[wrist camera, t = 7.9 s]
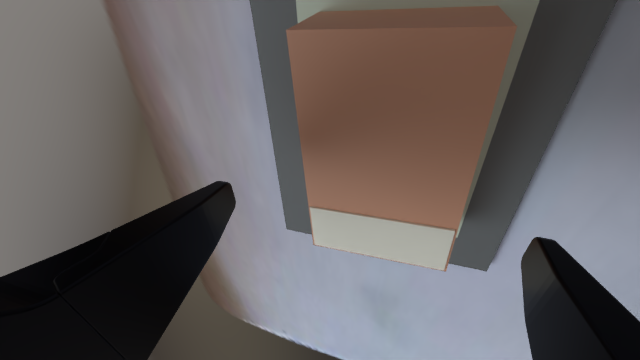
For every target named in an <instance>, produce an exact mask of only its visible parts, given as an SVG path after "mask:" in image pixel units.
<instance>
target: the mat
mask: <svg viewBox="0 0 640 360" xmlns="http://www.w3.org/2000/svg"><path fill="white" fill-rule="evenodd" d="M616 2H617V0H250V5H251V11H252V17H253V24H254V30H255V36H256V42H257V48H258V55H259V61H260V67H261V73H262V79H263V86H264V92H265V98H266V104H267V110H268V117H269V123H270V129H271V135H272V141H273V148H274V154H275V160H276V166H277V172H278V179H279V185H280V191H281V197H282V203H283V210H284V216H285V222H286V228H287V229H289V230H293V231H298V232H303V233H308V234H312V229H311V222H310V214H309V206H308V198H307V190H306V182H305V175H304V167H303V159H302V151H301V143H300V136H299V128H298V120H297V112H296V104H295V97H294V89H293V81H292V73H291V65H290V58H289V50H288V42H287V34H286V30H287V29H289V28H291V27H292V26H294V25H296V24H298V23H300V22H301V21H303V20H305V19H307V18H309V17H310V16H312V15H314V14H316V13H318V12H325V11H355V10H384V9H413V8H443V7H472V6H499V7H500V8H501V9H502V10H503V11H504V12H505V14H506V15H507V16H508V17H509V18H510V19H511V20H512V21H513V22H514V23H515V24H516V26H517V29H516V32H515V36H514V39H513V42H512V46H511V49H510V53H509V56H508V60H507V63H506V66H505V70H504V73H503V77H502V80H501V84H500V87H499V91H498V94H497V97H496V101H495V104H494V108H493V111H492V115H491V118H490V121H489V125H488V128H487V132H486V135H485V139H484V142H483V145H482V149H481V152H480V156H479V159H478V163H477V166H476V170H475V173H474V176H473V180H472V183H471V187H470V190H469V194H468V197H467V200H466V204H465V207H464V211H463V214H462V218H461V221H460V224H459V228H458V231H457V235H456V238H455V242H454V245H453V249H452V252H451V255H450V259H449V262H448V263H450V264H454V265H459V266H464V267H468V268H473V269H478V270H483V271H487V270H488V268H489V265H490V263H491V261H492V259H493V257H494V255H495V253H496V251H497V249H498V247H499V245H500V243H501V241H502V239H503V236H504V234H505V232H506V230H507V228H508V226H509V224H510V222H511V220H512V218H513V216H514V214H515V212H516V209H517V207H518V205H519V203H520V201H521V199H522V197H523V195H524V193H525V191H526V189H527V187H528V185H529V183H530V180H531V178H532V176H533V174H534V172H535V170H536V168H537V166H538V164H539V162H540V160H541V158H542V156H543V153H544V151H545V149H546V147H547V145H548V143H549V141H550V139H551V137H552V135H553V133H554V131H555V129H556V127H557V124H558V122H559V120H560V118H561V116H562V114H563V112H564V110H565V108H566V106H567V104H568V102H569V100H570V97H571V95H572V93H573V91H574V89H575V87H576V85H577V83H578V81H579V79H580V77H581V75H582V73H583V71H584V68H585V66H586V64H587V62H588V60H589V58H590V56H591V54H592V52H593V50H594V48H595V46H596V44H597V41H598V39H599V37H600V35H601V33H602V31H603V29H604V27H605V25H606V23H607V21H608V19H609V17H610V15H611V12H612V10H613V8H614V6H615V4H616Z"/></svg>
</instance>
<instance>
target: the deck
mask: <svg viewBox="0 0 640 360" xmlns="http://www.w3.org/2000/svg"><path fill="white" fill-rule="evenodd" d="M516 29H517V26H516V24H515V23H514V22H513V21H512V20H511V19H510V18H509V17H508V16H507V15H506V14H505V12H504V11H503V10H502V9H501V8H500V7H499V6H472V7H443V8H413V9H384V10H355V11H325V12H318V13H316V14H314V15H312V16H310V17H309V18H307V19H305V20H303V21H301V22H300V23H298V24H296V25H294V26H292V27H291V28H289V29H287V30H286V34H287V42H288V50H289V58H290V65H291V73H292V81H293V89H294V97H295V104H296V112H297V120H298V128H299V136H300V143H301V151H302V159H303V167H304V175H305V182H306V190H307V198H308V206H309V214H310V222H311V229H312V237H313V245H316V246H321V247H326V248H331V249H336V250H341V251H346V252H351V253H356V254H361V255H366V256H371V257H376V258H381V259H386V260H391V261H396V262H401V263H406V264H411V265H416V266H421V267H426V268H431V269H436V270H441V271H446V269H447V266H448V262H449V259H450V255H451V252H452V249H453V245H454V242H455V238H456V235H457V231H458V228H459V224H460V221H461V218H462V214H463V211H464V207H465V204H466V200H467V197H468V194H469V190H470V187H471V183H472V180H473V176H474V173H475V170H476V166H477V163H478V159H479V156H480V152H481V149H482V145H483V142H484V139H485V135H486V132H487V128H488V125H489V121H490V118H491V115H492V111H493V108H494V104H495V101H496V97H497V94H498V91H499V87H500V84H501V80H502V77H503V73H504V70H505V66H506V63H507V60H508V56H509V53H510V49H511V46H512V42H513V39H514V36H515V32H516Z"/></svg>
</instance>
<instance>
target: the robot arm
mask: <svg viewBox="0 0 640 360" xmlns="http://www.w3.org/2000/svg"><path fill="white" fill-rule="evenodd" d="M235 205H236V200H235V197H234V193H233V190H232V186H231V184H230V183H228V182H223V181H216V182H214V183H212V184H210V185H208V186H206V187H204V188H201V189H199V190H197V191H195V192H193V193H191V194H188V195H186V196H184V197H182V198H180V199H178V200H176V201H173V202H171V203H169V204H167V205H165V206H163V207H161V208H158V209H156V210H154V211H152V212H150V213H148V214H146V215H144V216H141V217H139V218H137V219H135V220H133V221H130V222H128V223H126V224H124V225H122V226H120V227H118V228H115V229H113V230H112V231H111V232H107V233H105V234H102V235H100V236H98V237H96V238H94V239H92V240H90V241H87V242H85V243H83V244H80V245H78V246H76V247H74V248H71V249H69V250H66V251H64V252H62V253H59V254H57V255H54V256H52V257H49V258H47V259H45V260H42V261H39V262H37V263H34V264H32V265H30V266H27V267H25V268H22V269H20V270H17V271H15V272H12V273H10V274H7V275H5V276H2V277H0V360H147V359H148V358H149V356H150V354H151V353H152V351H153V350H154V348H155V346H156V344H157V343H158V341H159V340H160V338H161V336H162V335H163V333H164V331H165V330H166V328H167V326H168V325H169V323H170V322H171V320H172V318H173V317H174V315H175V313H176V312H177V310H178V308H179V307H180V305H181V303H182V302H183V300H184V299H185V297H186V295H187V294H188V292H189V290H190V289H191V287H192V285H193V284H194V282H195V280H196V279H197V277H198V276H199V274H200V272H201V271H202V269H203V267H204V266H205V264H206V262H207V261H208V259H209V257H210V256H211V254H212V253H213V251H214V249H215V247H216V246H217V244H218V242H219V240H220V238H221V236H222V234H223V232H224V229H225V227H226V225H227V223H228V221H229V219H230V217H231V215H232V212H233V210H234V208H235ZM521 270H522V285H523V300H524V314H525V322H526V328H527V333H528V338H529V344H530V349H531V354H532V359H533V360H640V321H639V320H638V319H637V318H636V317H634V316H633V315H632V314H631V313H630V312H629V311H628V310H627V309H626V308H625V307H624V306H623V305H622V304H621V303H620V302H619V301H618V300H617V299H616V298H615V297H614V296H613V295H611V294H610V293H609V292H608V291H607V290H606V289H605V288H604V287H603V286H602V285H601V284H600V283H599V282H598V281H597V280H596V279H595V278H594V277H593V276H592V275H591V274H590V273H588V272H587V271H586V270H585V269H584V268H583V267H582V266H581V265H580V264H579V263H578V262H577V261H576V260H575V259H574V258H573V257H572V256H571V255H570V254H569V253H568V252H567V251H565V250H564V249H563V248H562V247H561V246H560V245H559V244H558V243H557V242H556V241H554V240H552V239H547V238H541V237H535V238H534V239H533V240H532V241H531V243H530V245H529V246H528V248H527V250H526V252H525V253H524V255H523V257H522V261H521Z"/></svg>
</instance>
